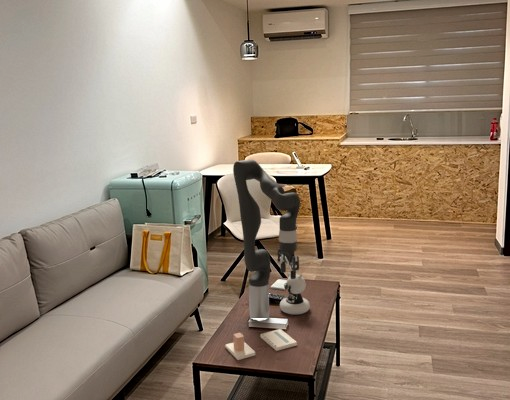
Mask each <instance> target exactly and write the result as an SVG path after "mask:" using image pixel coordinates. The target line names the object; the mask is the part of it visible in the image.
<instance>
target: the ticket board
mask: <svg viewBox="0 0 510 400" xmlns="http://www.w3.org/2000/svg"><path fill="white" fill-rule="evenodd" d="M259 334H260V333H259ZM260 338H261V339H262V340H263V341H264V342H266V344H267V345H269V346H270V347H271V348H272V349H274V351H276V352H277V351H280V350H284V349H289V348H292V347H295V346H297V345H298V342H297V341H296V340H295V339H294V338H292V337H291V335H289V334H288V333H286V332H285V331H284V330H283V329H281V328H279V329H275V330H272V331H267V332H264V333H261V334H260Z"/></svg>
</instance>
